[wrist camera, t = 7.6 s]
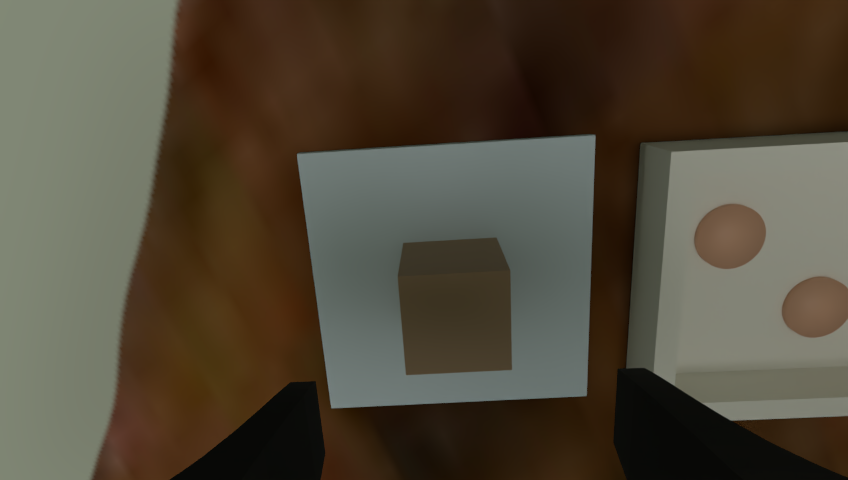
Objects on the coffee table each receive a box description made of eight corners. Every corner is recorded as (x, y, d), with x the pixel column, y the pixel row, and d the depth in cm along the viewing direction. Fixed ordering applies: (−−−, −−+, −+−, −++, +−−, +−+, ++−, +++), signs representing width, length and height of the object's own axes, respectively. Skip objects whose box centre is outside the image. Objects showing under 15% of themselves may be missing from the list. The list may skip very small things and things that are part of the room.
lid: (587, 132, 19) (632, 147, 15) (580, 382, 22) (616, 454, 18) (303, 150, 19) (267, 170, 15) (335, 394, 23) (313, 468, 18)
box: (926, 126, 18) (1000, 133, 16) (871, 375, 21) (927, 412, 19) (640, 142, 19) (671, 151, 16) (625, 385, 21) (649, 423, 19)
